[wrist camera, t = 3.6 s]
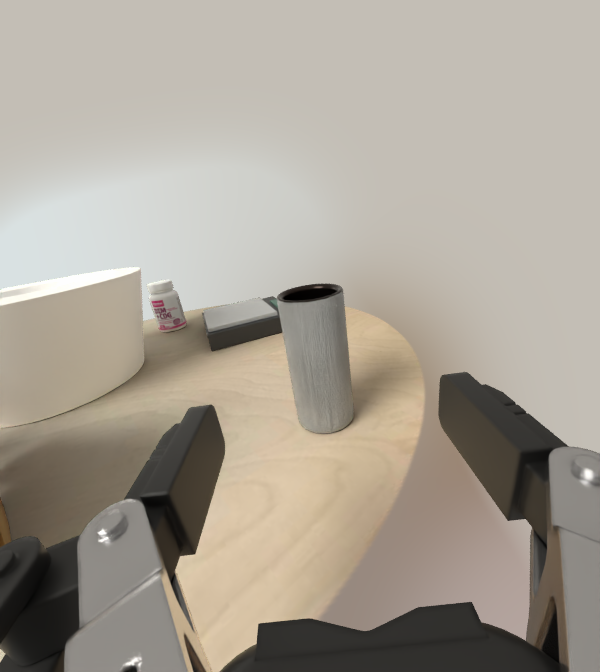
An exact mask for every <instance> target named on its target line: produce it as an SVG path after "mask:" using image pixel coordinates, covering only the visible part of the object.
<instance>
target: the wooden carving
mask: <svg viewBox="0 0 600 672" xmlns="http://www.w3.org/2000/svg"><path fill="white" fill-rule="evenodd" d="M9 542H11V536H10V528H9V524H8V520H7V517H6V513H5V510H4V506H3V504H2V501H1V499H0V547H2V546H4V545H5V544H7V543H9Z"/></svg>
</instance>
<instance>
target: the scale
mask: <svg viewBox="0 0 600 672" xmlns="http://www.w3.org/2000/svg"><path fill="white" fill-rule="evenodd" d="M203 312H204V313H202V315H203V319H204V324H205V328H206V333H207V337H208V340H209V344H210V347H211V351H215V350H218V349H222V348H226V347H229V346H233V345H237V344H240V343H244V342H248V341H251V340H255V339H259V338H262V337H266V336H270V335H273V334H277V333H281V332H282V326H281V321H280V315H279V310H278V304H277V299H276V298H275V297H268V298H264V299H261V298H255V299H251V300H247V301H242V302H238V303H233V304H229V305H225V306H220V307H216V308H212V309H207V310H203Z"/></svg>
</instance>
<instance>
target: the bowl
mask: <svg viewBox="0 0 600 672" xmlns="http://www.w3.org/2000/svg"><path fill="white" fill-rule="evenodd" d="M143 363H144V340H143V316H142V290H141V269H140V268H137V267H134V268H121V269H113V270H106V271H99V272H92V273H87V274H80V275H74V276H69V277H62V278H57V279H51V280H46V281H40V282H35V283H30V284H25V285H20V286H15V287H9V288H5V289H0V428H5V427H14V426H19V425H23V424H28V423H33V422H36V421H40V420H43V419H46V418H50V417H53V416H56V415H59V414H61V413H64V412H67V411H70V410H72V409H75V408H77V407H79V406H82V405H84V404H86V403H89V402H91V401H93V400H95V399H97V398H99V397H101V396H103V395H105V394H107V393H108V392H110V391H112V390H114V389H115V388H117V387H119V386H120V385H122V384H123V383H124V382H126V381H127V380H129V379H130V378H131V377H132V376H134V375H135V374H136V373H137V372H138V371H139V370H140V368H141V367H142V366H143Z"/></svg>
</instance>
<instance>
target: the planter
mask: <svg viewBox="0 0 600 672" xmlns="http://www.w3.org/2000/svg"><path fill="white" fill-rule="evenodd" d="M277 304H278V310H279V315H280V321H281V326H282V332H283V337H284V343H285V349H286V354H287V360H288V365H289V371H290V376H291V382H292V388H293V393H294V399H295V404H296V410H297V415H298V419H299V422H300V424H301V425H302V426H303V427H304V428H305V429H307V430H309V431H311V432H315V433H332V432H336V431H339V430H341V429H343V428H345V427H346V426H347V425H348V424H349V423H350V422H351V421H352V419H353V415H354V408H353V396H352V385H351V374H350V362H349V351H348V340H347V329H346V317H345V306H344V295H343V289H342V287H341V286H338V285H335V284H312V285H305V286H300V287H295V288H292V289H289V290H286V291H284V292H282V293H280V294H279V295H278V296H277Z"/></svg>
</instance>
